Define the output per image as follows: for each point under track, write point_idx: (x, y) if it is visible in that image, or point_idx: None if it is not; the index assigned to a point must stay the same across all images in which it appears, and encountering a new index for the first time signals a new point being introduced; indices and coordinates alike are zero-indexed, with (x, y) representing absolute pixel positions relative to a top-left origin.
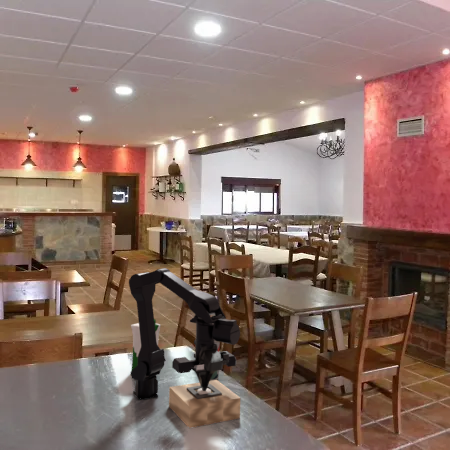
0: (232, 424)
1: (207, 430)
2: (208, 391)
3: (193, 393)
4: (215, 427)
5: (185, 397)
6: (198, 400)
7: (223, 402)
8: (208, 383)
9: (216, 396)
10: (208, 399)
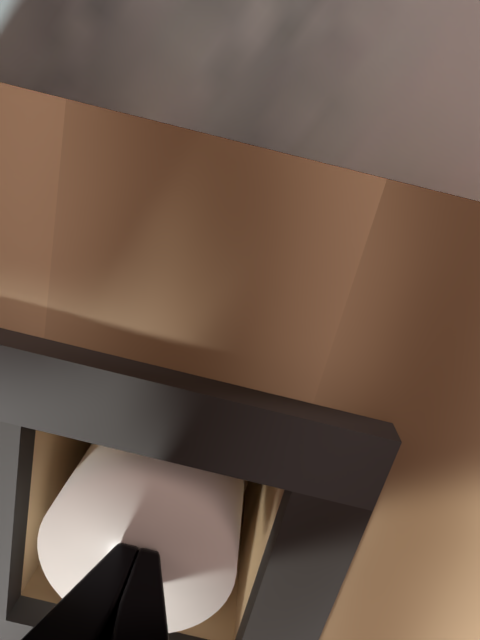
0: (115, 8)
1: (421, 60)
2: (103, 501)
3: (342, 570)
4: (308, 66)
5: (475, 558)
6: (410, 378)
7: (79, 103)
8: (35, 632)
9: (70, 330)
10: (254, 313)
